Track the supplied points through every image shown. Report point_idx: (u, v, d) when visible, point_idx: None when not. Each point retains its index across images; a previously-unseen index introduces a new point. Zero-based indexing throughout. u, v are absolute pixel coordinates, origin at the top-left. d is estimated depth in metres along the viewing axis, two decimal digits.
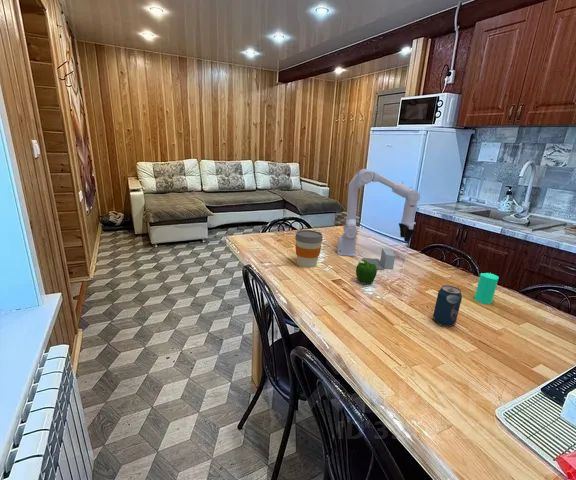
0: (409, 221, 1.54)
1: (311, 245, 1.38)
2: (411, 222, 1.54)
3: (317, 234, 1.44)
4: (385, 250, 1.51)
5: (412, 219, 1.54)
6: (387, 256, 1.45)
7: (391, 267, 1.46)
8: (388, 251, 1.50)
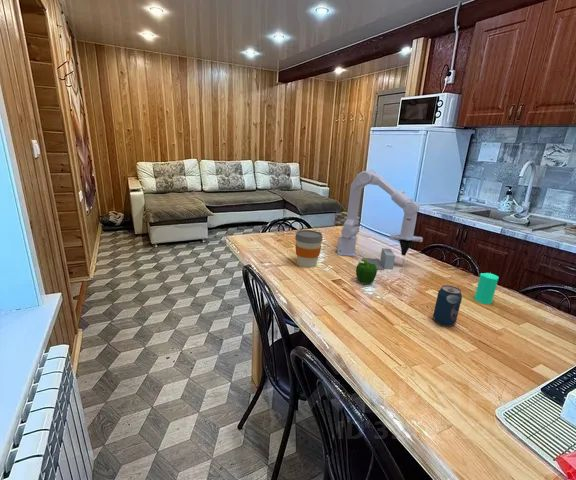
0: (400, 234, 1.46)
1: (311, 245, 1.38)
2: (401, 235, 1.45)
3: (317, 234, 1.44)
4: (385, 250, 1.51)
5: (402, 232, 1.45)
6: (387, 256, 1.45)
7: (391, 267, 1.46)
8: (388, 251, 1.50)
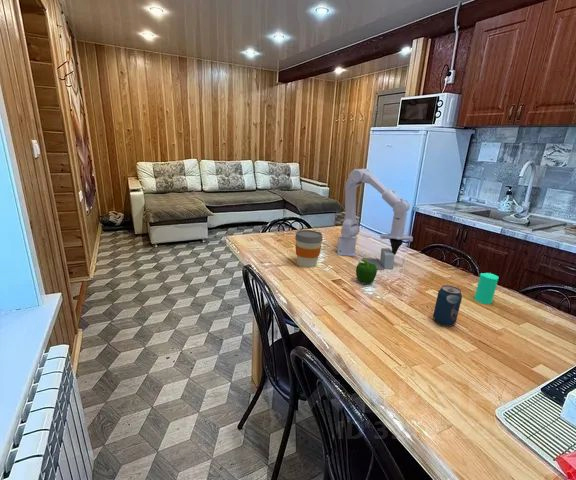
0: None
1: (311, 245, 1.38)
2: (391, 234, 1.46)
3: (317, 234, 1.44)
4: (384, 250, 1.51)
5: (392, 232, 1.45)
6: (386, 256, 1.45)
7: (391, 267, 1.46)
8: (387, 251, 1.50)
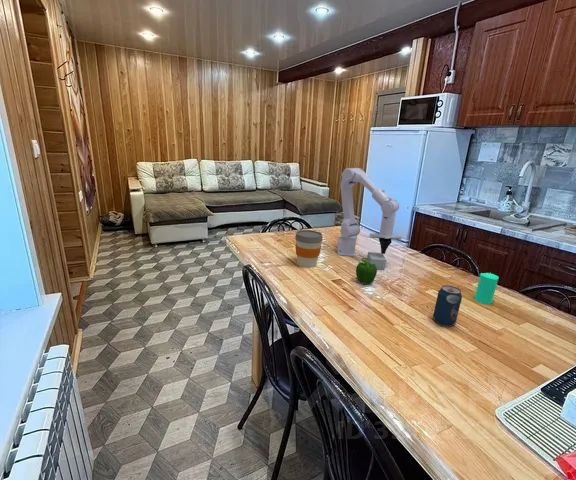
0: None
1: (311, 245, 1.38)
2: (380, 234, 1.46)
3: (317, 234, 1.44)
4: (368, 259, 1.53)
5: (381, 231, 1.45)
6: None
7: (383, 261, 1.46)
8: (368, 259, 1.51)
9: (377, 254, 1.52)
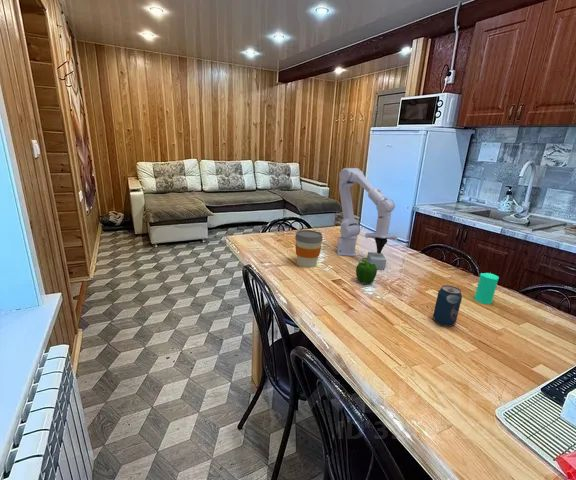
0: (375, 232, 1.47)
1: (311, 245, 1.38)
2: (376, 233, 1.46)
3: (317, 234, 1.44)
4: (368, 259, 1.53)
5: (377, 230, 1.45)
6: None
7: (383, 261, 1.46)
8: (368, 259, 1.51)
9: (377, 254, 1.52)
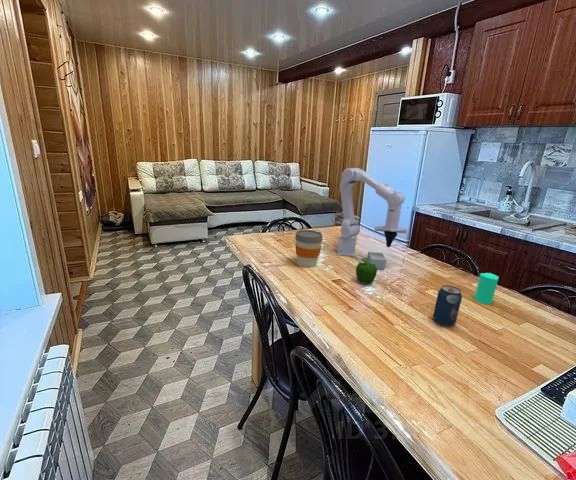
0: (385, 225, 1.46)
1: (311, 245, 1.38)
2: (386, 227, 1.45)
3: (317, 234, 1.44)
4: (368, 259, 1.53)
5: (387, 224, 1.44)
6: None
7: (383, 261, 1.46)
8: (368, 259, 1.51)
9: (377, 254, 1.52)
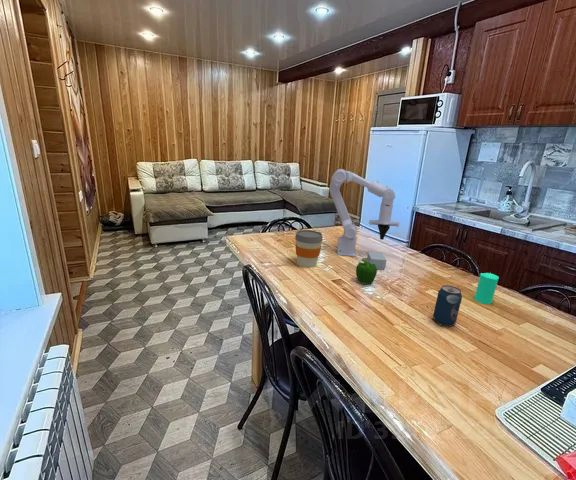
0: None
1: (311, 245, 1.38)
2: (379, 220, 1.55)
3: (317, 234, 1.44)
4: (368, 259, 1.53)
5: (380, 217, 1.54)
6: None
7: (383, 261, 1.46)
8: (368, 259, 1.51)
9: (377, 254, 1.52)
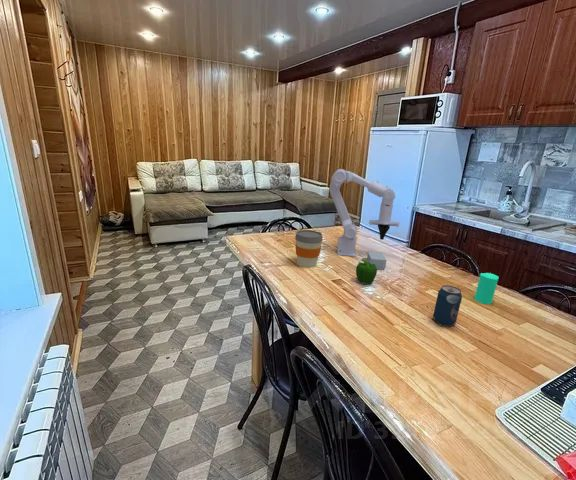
0: None
1: (311, 245, 1.38)
2: (379, 220, 1.55)
3: (317, 234, 1.44)
4: (368, 259, 1.53)
5: (380, 217, 1.54)
6: None
7: (383, 261, 1.46)
8: (368, 259, 1.51)
9: (377, 254, 1.52)
